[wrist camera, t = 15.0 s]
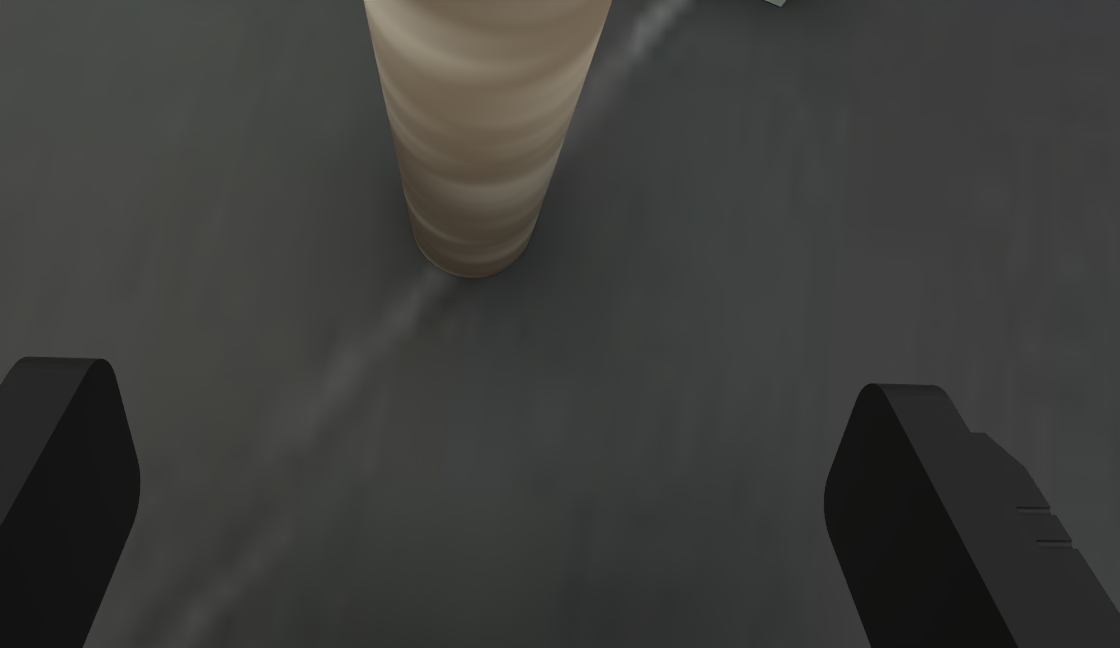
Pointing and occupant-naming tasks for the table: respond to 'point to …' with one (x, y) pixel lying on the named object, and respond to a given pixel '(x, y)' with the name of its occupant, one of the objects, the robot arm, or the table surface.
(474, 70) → the beige long cylinder
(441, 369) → the table surface
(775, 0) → the toolbox
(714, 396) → the table surface
